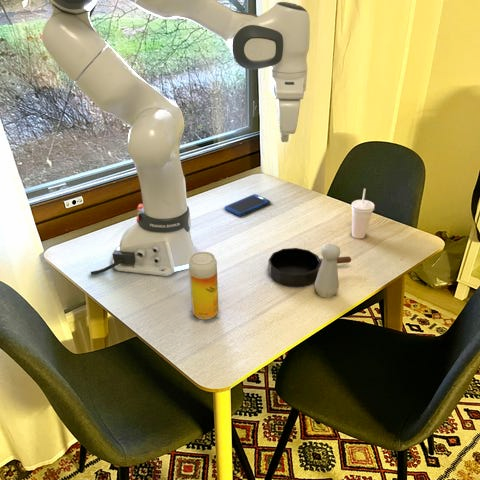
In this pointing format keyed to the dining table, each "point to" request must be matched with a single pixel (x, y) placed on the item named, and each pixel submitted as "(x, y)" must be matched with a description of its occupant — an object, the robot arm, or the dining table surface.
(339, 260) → the pan
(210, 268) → the glass of yellow beer
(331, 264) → the salt shaker
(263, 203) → the cell phone
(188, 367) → the dining table surface
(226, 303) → the dining table surface
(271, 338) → the dining table surface
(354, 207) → the smoothie
